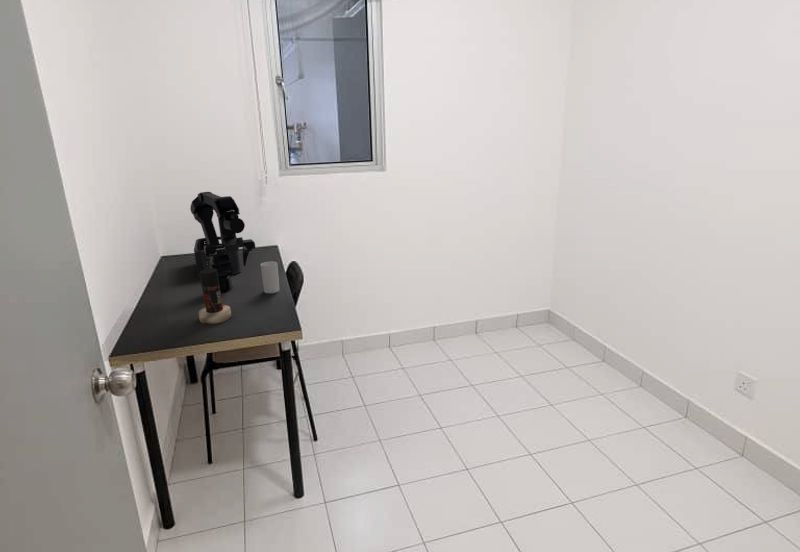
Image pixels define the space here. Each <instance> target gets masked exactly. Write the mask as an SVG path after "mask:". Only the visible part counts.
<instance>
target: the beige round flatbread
mask: <svg viewBox="0 0 800 552" xmlns="http://www.w3.org/2000/svg"><path fill="white" fill-rule="evenodd" d="M222 305H223V310H222V311H220V312H216V313H207V312H206V308H205V307H203V308H201V309H200V310H199V311H198V317H199V321H200V323H202V324H205V323H207V324H206V325H209V324H210V325H211V324H212V325H213V324H219V323H223V322H225V321H227V320H229V319H231V318H230V317H232V311H231V307H230V306H229V305H227V304H222Z"/></svg>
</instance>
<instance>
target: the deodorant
mask: <svg viewBox="0 0 800 552" xmlns="http://www.w3.org/2000/svg"><path fill="white" fill-rule="evenodd" d="M199 278H200V283H201V288H202V289H201V290H202V294H203V300H204V308H206V312H207V313H216V312H220V311H222V310H223V305H224V304H223V299H222V292H220V285H219V279H218V272H217V269H204V270H201V271H200V277H199Z"/></svg>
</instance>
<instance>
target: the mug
mask: <svg viewBox="0 0 800 552" xmlns="http://www.w3.org/2000/svg"><path fill="white" fill-rule="evenodd" d="M260 272H261V278H262V284H263V291H264V293H265V294H275V293H278V292H280V280H279V268H278V262H276V261H265V262H262V263H260Z"/></svg>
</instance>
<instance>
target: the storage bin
mask: <svg viewBox="0 0 800 552" xmlns="http://www.w3.org/2000/svg"><path fill="white" fill-rule="evenodd" d="M217 237H218V240H219V241H220V240H221V236H217ZM219 243H220V242H219ZM205 245H208V244H207V241H206V238H205V237H201V238H197V239H195V243H194V248H193V253H194V259H195V265H196V270H197V277H198V278H200V271H201V270H204V269H209V268H210V260H211V256H209V255H206V254H205V251H204V246H205ZM220 245H222V243H220ZM224 248H225V247H224ZM222 252H223V253H225V254H228V256H229V259H230V261H231V262H232V264H233V275H235V274H239V273H241V272H242V267H241V261H240V260H241V259H240V254H239V253H240V252H239V250H238V251H232V252H226V250H222ZM207 262H208V263H207ZM207 264H208V265H207Z"/></svg>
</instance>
